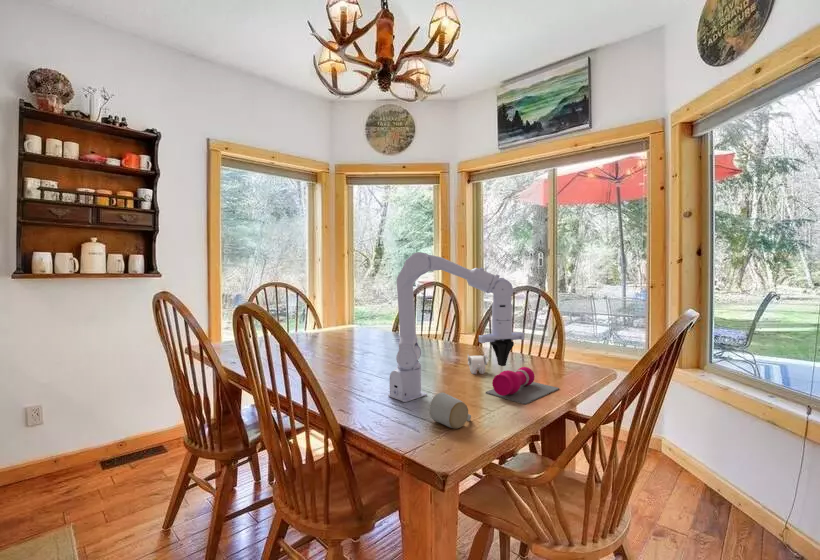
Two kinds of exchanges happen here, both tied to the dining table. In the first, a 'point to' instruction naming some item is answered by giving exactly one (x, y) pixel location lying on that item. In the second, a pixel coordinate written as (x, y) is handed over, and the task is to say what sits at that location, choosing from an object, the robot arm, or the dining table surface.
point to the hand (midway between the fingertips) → (501, 365)
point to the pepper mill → (512, 380)
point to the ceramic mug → (449, 411)
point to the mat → (527, 393)
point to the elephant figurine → (477, 363)
